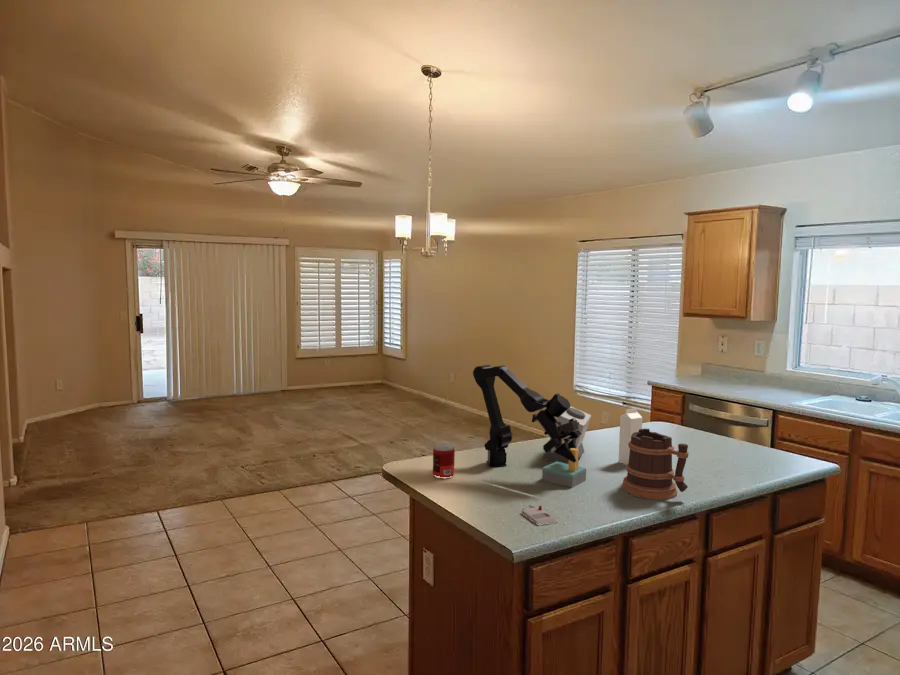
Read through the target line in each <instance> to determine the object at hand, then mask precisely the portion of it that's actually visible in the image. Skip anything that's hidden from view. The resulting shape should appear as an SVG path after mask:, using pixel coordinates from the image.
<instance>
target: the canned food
mask: <svg viewBox="0 0 900 675" xmlns="http://www.w3.org/2000/svg"><path fill="white" fill-rule="evenodd" d="M455 450H456V449H455V445H454V444H451V443H437V444H434V445H433V448H432V475H433V474H434V475H436V476H440V477H450V476H453V475H455V455H456V454H455ZM453 477H454V476H453Z"/></svg>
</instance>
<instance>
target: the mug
mask: <svg viewBox="0 0 900 675" xmlns="http://www.w3.org/2000/svg"><path fill="white" fill-rule="evenodd" d="M628 446H629V448H630V453H629V463H628V464H627V465H625V470H626V471H627V474H626V476H624V477H623V480H622V483H621V487H622V489H623V490H624V491H626V492H627V493H628V495H630V496H634V497H636V498H641V499H647V500H648V499H649V500H657V501H659V500H660V501H661V500H670V499H674V498H676V497H677V496H678V490H679V492H681V493H683V492H684V491H686V490H687V489H688V485H687V484H686V483H685V482H684V481H685V476H684V475H683V474H684V473H683V472H684V469H685V466H686V463H687V459H688V458H689V454H690V453H689V451H688V450H689V449H688V448H689V445H688V444H686V443H678V445H677V448H678V450H676V449H675V447H674V446H673V437H671V436H668V435H666V434H662V433H659V432H656V431H655V432H654V431H651V430H650V428H642V429H639V432H634V433H633V434H632V435H631V441H630V442H629V443H628ZM673 455H675V456H676V457H677V460H676V461H677V462H676V466H675V470H674V469H673ZM677 488H678V490H677Z"/></svg>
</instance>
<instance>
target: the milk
mask: <svg viewBox="0 0 900 675" xmlns="http://www.w3.org/2000/svg"><path fill="white" fill-rule="evenodd" d="M619 418H620V419H619V438H618V439H619V442H618V443H619V444H618V461H617V462H618V463H619V464H620V463H621V464H622V463H623V464H622V465H625V466H627V464H628V463H629V453H630V448H629V446H628V443H629V442H630V441H631V435H632V434H633V433H634V432H639V429H643V416H642V415H641V414H640V413H639V412H638V408H637V407H635V408H628V409H625V413H624V414H621V415H620V417H619Z"/></svg>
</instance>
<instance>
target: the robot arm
mask: <svg viewBox="0 0 900 675" xmlns="http://www.w3.org/2000/svg"><path fill="white" fill-rule="evenodd" d="M472 376H473V378H474V381H475V383H476V385H477V386H478V387H479V388H480V389H481V391H482V395H483V400H484V404H485V407H486V412H487V416H488V418H489V423H490V427H489V433H488V434H489V439H488V440H487V441H486V442H485V443H484V449H485V450H486V451H487V460H485V462H486V464H488V466H489V467H490V468H494V467H495V468H496V467H507V456H508V455H507V452H506V448H509V445H510V444H511V442H512V440H513V433H512V431H511V430H512V429H511V426H510V424H506V423H505V422H504V419H503V417H502V413H501V408H500V404H499V401H498V398H497V394H496V389H495V382H496V381H495V380H496V377H498V378H499V379H500V380H501V381H502V382H503V383H504V384H505V385H506V386H507V387H508V388H509V389H510V390H511V391H512V392H513V393H515V395H516V396H518V398H519V400H520V403H521V405H522V406H523V407H524V409H525V410H526V411H527V412H528V413H534V414H532V418H531V423H535V422H538V423H539V424H540V426H541V427H542V429H543V430H544V432H543V434H544V435H545V436H547V435H548V437H549V438H551V439H549V440H548V441H547V442H546V443H544V445H542V450H543V451H544V454H545V453H546V454H547V453H549V452H551V449H553V448H554V447H555V449H556V450H555V451H554V453H557V454H559V455H561V456H563V457H565V458H567V459H569V460H570V461H572V462H576V459H575V457H574V455H573V454H572V452H571V451H570V449H571V448H576V445H575V443H576V440H577V438H578V437H579V436H581V435H582V434H581V432H580V431H579V430H576V429H579V427H578V425H579V422H578V421H577V420H576V419H575V418H572V419H569V423H566V424H563V423H562V422H561V421H560V422H558V421H557V417H560V416H561V415H562V414H563V413H564V412H565V411H567V410H568V409H569V408H570V406H571V403H570V401H569V400H568V398H566V397H565V396H562V395H561V394H560V393H555V394H554V395H553V396H552V397H551V398H550V399H548V398H545V397H544V396H543V395H541V394H540V393H538V392H537V391H535V390H532V389H531V388H529V387H528V386H526V384H525V383H523V382H522V381H521V380H520V379H519V378H518V377H517V375H515V374H514V373H513V372H512V371H511V370H510V369H509V367H508V366H506V365H504V364H503V365H498V366H497V365H496V366H493V365H491V364H484V365H478V366H475V367H474V369H473V370H472ZM535 412H537V413H535ZM576 449H577V448H576ZM580 460H581V458H580V457H579V461H580Z"/></svg>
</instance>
